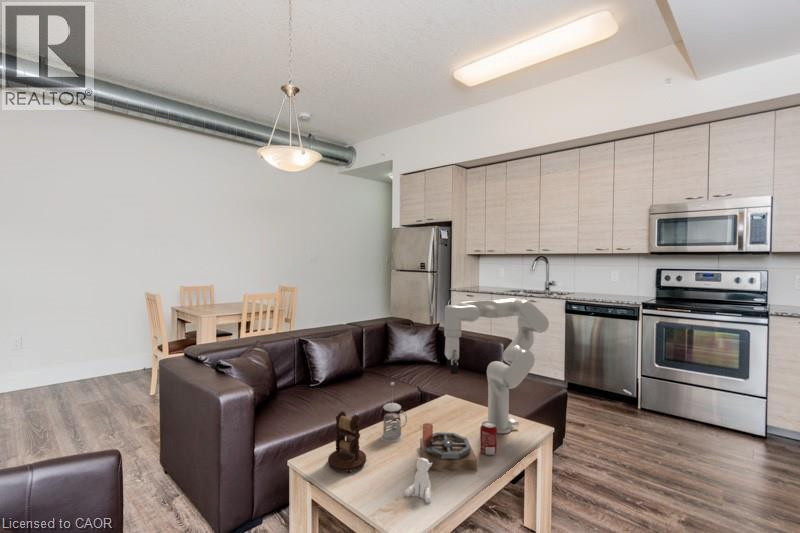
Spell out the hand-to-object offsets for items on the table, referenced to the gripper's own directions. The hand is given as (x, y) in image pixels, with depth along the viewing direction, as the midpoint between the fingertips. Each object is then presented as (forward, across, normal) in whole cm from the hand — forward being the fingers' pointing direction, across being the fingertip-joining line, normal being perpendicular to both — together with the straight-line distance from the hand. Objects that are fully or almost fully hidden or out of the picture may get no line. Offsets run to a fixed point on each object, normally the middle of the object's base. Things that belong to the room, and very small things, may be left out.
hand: (452, 370), depth 171 cm
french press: (+31, 0, -26) cm, 40 cm away
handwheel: (+26, +18, -5) cm, 32 cm away
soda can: (+31, +14, +13) cm, 36 cm away
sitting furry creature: (+31, +40, -18) cm, 53 cm away
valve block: (+30, +18, -5) cm, 36 cm away
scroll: (+31, +21, -45) cm, 58 cm away
